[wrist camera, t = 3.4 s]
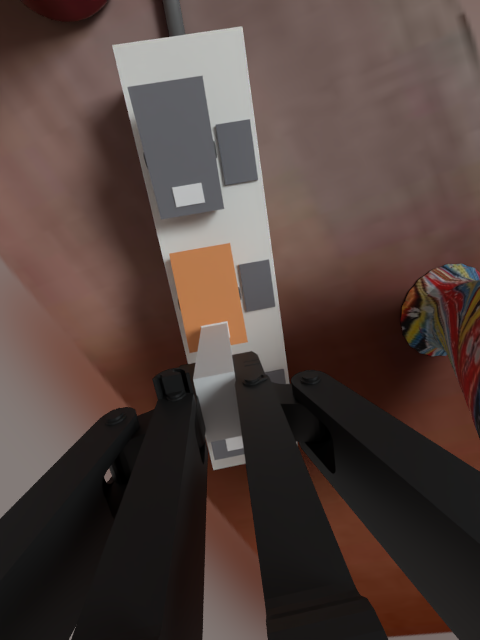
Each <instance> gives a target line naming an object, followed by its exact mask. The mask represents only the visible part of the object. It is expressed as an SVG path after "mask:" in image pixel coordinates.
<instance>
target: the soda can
mask: <svg viewBox="0 0 480 640" xmlns="http://www.w3.org/2000/svg"><path fill="white" fill-rule="evenodd" d="M20 1H21V2H22V3H23V4H25V5H26V6H27V7H28V8H30V9H31V10H33V11H34V12H36V13H38V14H39V15H42V16H44V17H47V18H49V19H51V20H56V21H61V22H77V21H80V20H83V19H87V18H89V17H90V16H92V15H94V14H95V13H97V12H98V11H99V10H100V9H101V8H102V7H103V6H104V5H105V4H106V2H107V1H108V0H20Z"/></svg>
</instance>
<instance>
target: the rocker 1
mask: <svg viewBox="0 0 480 640" xmlns="http://www.w3.org/2000/svg"><path fill="white" fill-rule="evenodd" d="M127 88H128V92H129V96H130V100H131V104H132V108H133V111H134V115H135V119H136V123H137V127H138V131H139V135H140V139H141V143H142V147H143V151H144V152H143V155H144V160H145V163H146V166H147V168H148V170H149V174H150V178H151V182H152V186H153V190H154V194H155V197H156V201H157V205H158V209H159V213H160V217H161V220H162V219H168V218H174V217H180V216H185V215H191V214H197V213H203V212H209V211H215V210H221V209H224V204H223V198H222V192H221V186H220V180H219V174H218V168H217V161H216V158H217V151H216V145H215V141H213V137H212V131H211V125H210V119H209V112H208V106H207V100H206V94H205V88H204V82H203V76H197V77H190V78H184V79H177V80H170V81H164V82H157V83H150V84H144V85H137V86H130V87H127Z"/></svg>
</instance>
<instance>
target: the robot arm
mask: <svg viewBox="0 0 480 640" xmlns="http://www.w3.org/2000/svg"><path fill="white" fill-rule="evenodd" d="M152 380H153V383H154V387H155V391H156V394H157V398H158V401H157V404H156V407H155V409H154V410H151V411H149V412H147V413H144V414H141V415H139V416H137V414H136V411H135V409H133V408H130V407H125V408H118V409H116V410H112V411H110V412H109V413H107V414H105V415H104V416H103V417H101V418H100V419H99V420H98V421H97V422H96V423H95V424H94V425H93V426H92V427H91V428H90V429H89V430H88V431H87V432H86V433H85V434H84V435H83V436H82V437H81V438H80V439H79V440H78V441H77V442H76V443H75V444H74V445H73V446H72V447H71V448H70V449H69V450H68V451H67V452H66V453H65V454H64V455H63V456H62V457H61V458H60V459H59V460H58V461H57V462H56V463H55V464H54V465H53V466H52V467H51V468H50V469H49V470H48V471H47V472H46V473H45V474H44V475H43V476H42V477H41V478H40V479H39V480H38V481H37V482H36V483H35V484H34V485H33V486H32V487H31V488H30V489H29V490H28V491H27V492H26V493H25V494H24V495H23V496H22V497H21V498H20V499H19V500H18V501H17V502H16V503H15V504H14V506H13V507H11V509H10V510H9V511H7V512H6V513H5V515H4V516H3V517H2V518H1V519H0V640H69V638H70V636H71V634H72V632H73V630H74V629H75V631H74V633H73V636H72V639H71V640H202V633H203V599H204V596H203V595H204V566H205V564H204V563H205V529H206V497H207V462H208V450H207V446H206V442H205V433H206V437H207V441H208V443H209V442H214V441H219V440H223V439H228V438H233V437H238V436H242V441H243V448H244V455H245V462H246V469H247V477H248V484H249V491H250V498H251V506H252V513H253V520H254V527H255V534H256V542H257V549H258V556H259V563H260V570H261V577H262V585H263V592H264V599H265V607H266V626H267V636H268V640H388V638H387V636H386V634H385V631H384V629H383V627H382V625H381V623H380V621H379V619H378V617H377V614H376V612H375V610H374V608H373V607H372V605H371V604H370V602H369V601H368V599H367V598H365V597H363V596H361V595H360V594H359V592H358V591H357V589H356V587H355V585H354V582H353V580H352V578H351V575H350V573H349V570H348V568H347V565H346V563H345V561H344V558H343V556H342V553H341V551H340V548H339V546H338V543H337V541H336V539H335V536H334V534H333V531H332V529H331V526H330V524H329V521H328V519H327V517H326V514H325V512H324V509H323V507H322V504H321V502H320V499H319V497H318V495H317V492H316V490H315V487H314V485H313V482H312V480H311V477H310V475H309V473H308V470H307V468H306V465H305V463H304V460H303V458H302V455H301V453H300V451H299V448H298V446H297V443H296V442H299V444H300V446H301V448H302V450H303V451H304V452H305V453H306V454H307V456H308V457H309V458H310V459H311V461H312V462H313V463H314V464H315V465H316V467H317V468H318V469H319V470H320V471H321V473H322V474H323V475H324V476H325V478H326V479H327V480H328V481H329V482H330V484H331V485H332V486H333V487H334V488H335V490H336V491H337V492H338V493H339V494H340V496H341V497H342V498H343V499H344V501H345V502H346V503H347V504H348V505H349V507H350V508H351V509H352V510H353V511H354V513H355V514H356V515H357V516H358V518H359V519H360V520H361V521H362V522H363V524H364V525H365V526H366V527H367V528H368V530H369V531H370V532H371V533H372V535H373V536H374V537H375V538H376V539H377V541H378V542H379V543H380V544H381V545H382V547H383V548H384V549H385V550H386V552H387V553H388V554H389V555H390V556H391V558H392V559H393V560H394V561H395V562H396V564H397V565H398V566H399V567H400V569H401V570H402V571H403V572H404V573H405V575H406V576H407V577H408V578H409V579H410V581H411V582H412V583H413V584H414V585H415V587H416V588H417V589H418V590H419V592H420V593H421V594H422V595H423V596H424V598H425V599H426V600H427V601H428V602H429V604H430V605H431V606H432V607H433V609H434V610H435V611H436V612H437V613H438V615H439V616H440V617H441V618H442V619H443V621H444V622H445V623H446V624H447V626H448V627H449V628H450V629H451V630H452V632H453V633H454V634H455V635H456V636H457V638H458V639H459V640H480V472H479V471H478V470H476V469H475V468H473V467H472V466H470V465H468V464H467V463H465V462H464V461H462V460H461V459H459V458H457V457H456V456H454V455H453V454H451V453H450V452H448V451H446V450H445V449H443V448H442V447H440V446H439V445H437V444H436V443H434V442H432V441H431V440H429V439H428V438H426V437H425V436H423V435H421V434H420V433H418V432H417V431H415V430H414V429H412V428H410V427H409V426H407V425H406V424H404V423H403V422H401V421H399V420H398V419H396V418H395V417H393V416H392V415H390V414H389V413H387V412H385V411H384V410H382V409H381V408H379V407H378V406H376V405H374V404H373V403H371V402H370V401H368V400H367V399H365V398H363V397H362V396H360V395H359V394H357V393H356V392H354V391H353V390H351V389H349V388H348V387H346V386H345V385H343V384H342V383H340V382H338V381H337V380H335V379H334V378H332V377H331V376H329V375H327V374H326V373H323V372H321V371H315V370H310V371H309V370H306V371H303V372H299V373H297V374H295V375H294V376H293V377H292V379H291V384H278V383H274V382H271V380H270V377H269V376H268V375H266V374H265V372H264V370H263V367H262V365H261V362H260V360H259V357H258V354H256V353H254V352H252V351H250V352H244V353H239V354H234V355H232V349H231V344H230V339H229V334H228V328H227V323H225V324H219V325H214V326H209V327H203V328H201V333H200V339H199V345H198V351H197V357H196V363H191V364H186V365H181V366H180V367H179V368H172V369H168V370H165V371H163V372H161V373H159V374H158V375H156V376H155V377H154V378H153V379H152ZM108 469H110V471H111V474H112V477H111V478H110V480H109V481H108V482H107V483H106V481H105V479H104V475H105V474H106V472H107V470H108ZM75 627H76V628H75Z"/></svg>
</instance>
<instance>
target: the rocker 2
mask: <svg viewBox="0 0 480 640" xmlns="http://www.w3.org/2000/svg"><path fill="white" fill-rule="evenodd" d="M211 445H212V450H213V455H214V460H219V459H224V458H229V457H233V456H238V455H243V454H244V448H243V441H242V436H238V437H233V438H228V439H223V440H219V441H214V442H211Z"/></svg>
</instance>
